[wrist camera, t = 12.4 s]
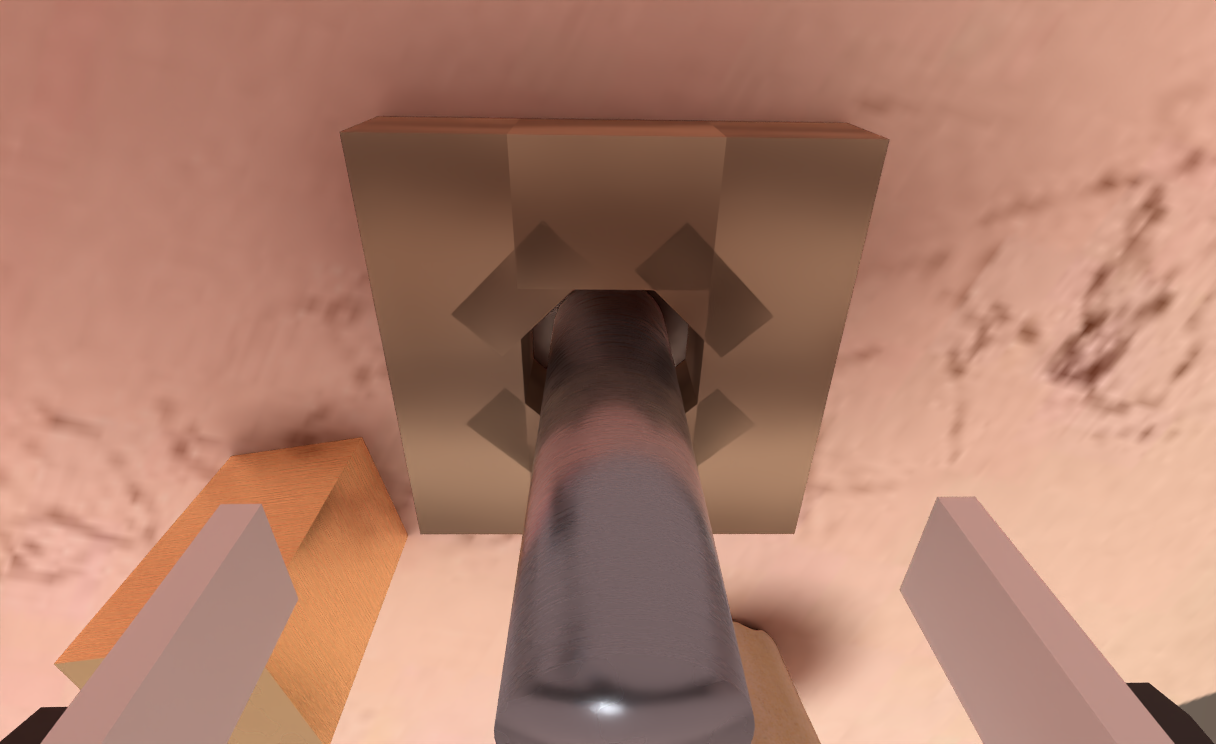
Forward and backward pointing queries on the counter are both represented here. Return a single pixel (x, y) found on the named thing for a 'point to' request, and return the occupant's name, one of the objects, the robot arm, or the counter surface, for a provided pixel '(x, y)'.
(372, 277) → the socket block
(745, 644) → the flower pot
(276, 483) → the square bit
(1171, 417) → the counter surface
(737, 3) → the counter surface
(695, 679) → the round bit
